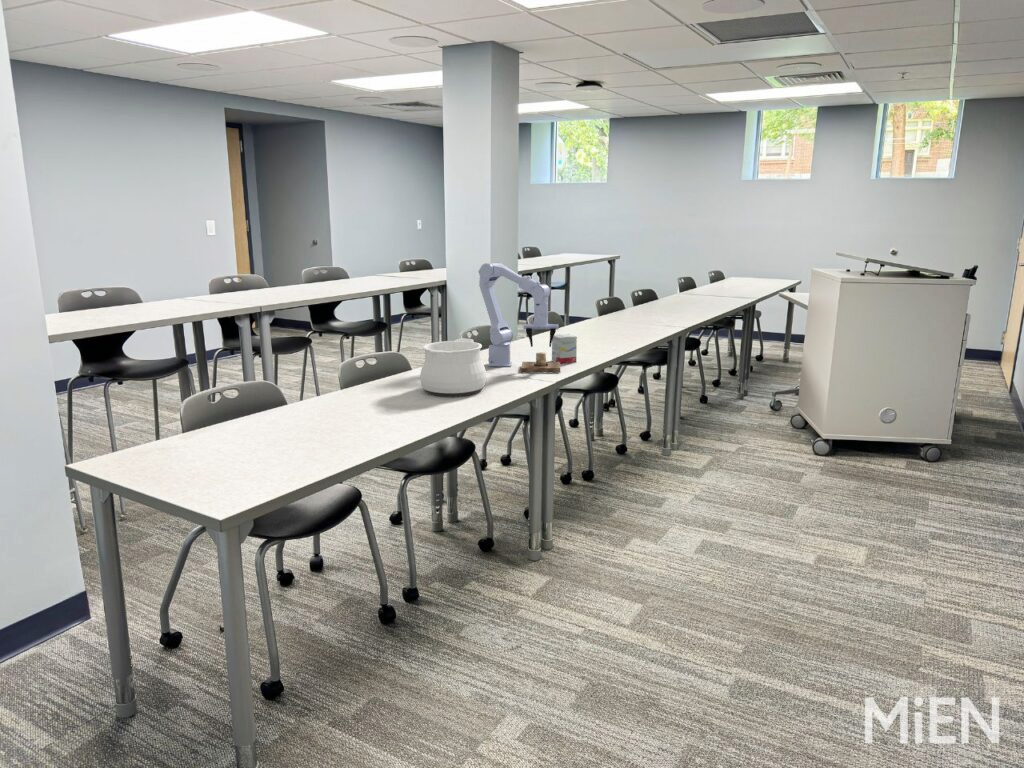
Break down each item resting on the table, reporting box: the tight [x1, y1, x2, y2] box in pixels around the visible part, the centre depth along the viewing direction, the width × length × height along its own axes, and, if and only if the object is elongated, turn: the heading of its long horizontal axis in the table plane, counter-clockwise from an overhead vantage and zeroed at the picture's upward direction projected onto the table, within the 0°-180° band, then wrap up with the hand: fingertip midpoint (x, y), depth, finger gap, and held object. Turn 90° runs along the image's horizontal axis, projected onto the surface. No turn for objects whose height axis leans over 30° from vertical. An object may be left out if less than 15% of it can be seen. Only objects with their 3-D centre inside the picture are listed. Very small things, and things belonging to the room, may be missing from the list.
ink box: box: [551, 333, 578, 365], centre depth 316 cm, size 9×9×12 cm
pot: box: [419, 338, 487, 398], centre depth 265 cm, size 28×24×17 cm
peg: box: [535, 351, 547, 366], centre depth 300 cm, size 4×4×7 cm
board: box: [520, 361, 561, 373], centre depth 301 cm, size 16×13×2 cm
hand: (540, 346), depth 299 cm, fingers open, 7 cm apart
